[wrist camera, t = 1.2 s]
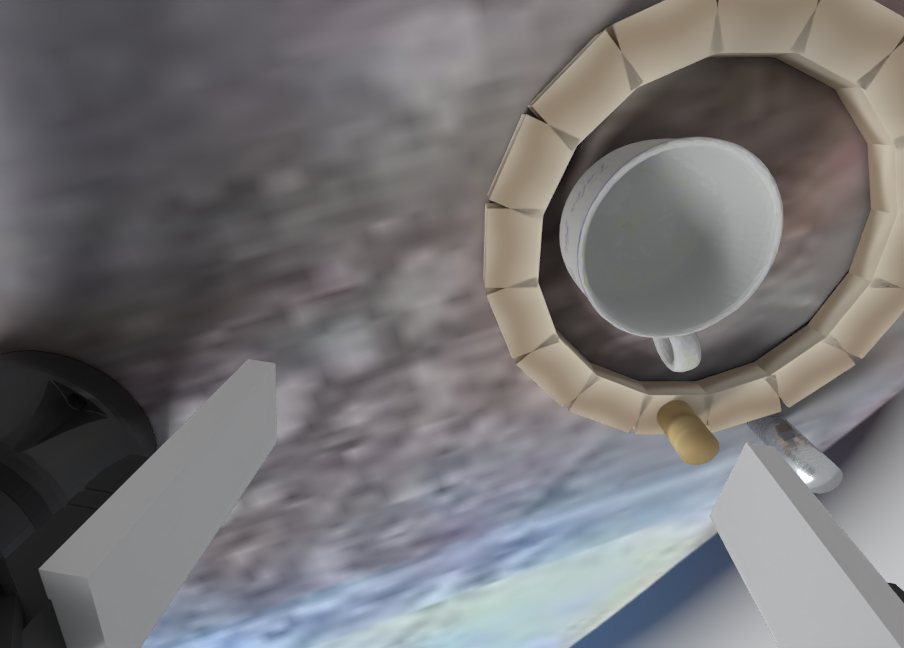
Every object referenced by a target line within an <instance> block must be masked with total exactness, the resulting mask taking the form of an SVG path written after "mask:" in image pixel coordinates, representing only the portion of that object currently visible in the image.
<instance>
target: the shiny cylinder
mask: <svg viewBox="0 0 904 648" xmlns="http://www.w3.org/2000/svg"><path fill="white" fill-rule="evenodd" d="M747 424H748V426H749V428H750V429H751V430H752V431H753V432H754V433H755V434H756V435H757V436H758V437H759V438H760V439H761V440H762V441H763V442H764V444H765V445H766V446H772V447H775V448H776V449H777V451H778V452H779V453H780V454H781V455H782V457H783V458H784V459H785V460H786V461H787V463H788V464H789V465H790V466H791V467H792V469H793V470H794V471H795V472H796V473H797V475H798V476H799V477H800V478H801V480H802V481H803V482H804V483H805V484H806V486H807V487H808V488H809V489H810V490H811V492H813V493H825V492H828V491H831V490H833V489H834V488H835V487H837V486H838V485H839V484H840V482H841V481H842V477H843V474H842V471H841V470H840V469H839V468H838V467H837V466H836V465H835V464H834V463H833V462H832V461H831V460H830V459H828V458H827V457H826V456H825V455H824V454H823V453H822V452H821V451H820V450H819V449H818V448H816V447H815V446H814V445H813V444H812V443H811V442H810V441H809V440H808V439H807V438H806V437H805V436H803V435H802V434H801V433H800V432H799V431H798V430H797V429H796V428H795V427H794V426H793V425H792V424H790V423H789V422H788V421H787V420H786V419H785V418H784V417H783V416H782V415H781V414H780V413H779V412H778V413H775V414H772V415H768V416H765V417H762V418H759V419H755V420H752V421H749V422H747Z"/></svg>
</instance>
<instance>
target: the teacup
mask: <svg viewBox="0 0 904 648" xmlns="http://www.w3.org/2000/svg"><path fill="white" fill-rule="evenodd" d="M782 231H783V204H782V199H781V196H780V192H779V189H778V186H777V184H776V181H775V179H774V178H773V176H772V175H771V173H770V172H769V170H768V168H767V167H766V166H765V165H764V163H763V162H762V161H761V160H760V159H759V158H758V157H756V156H755V155H754V154H753V153H752V152H750V151H749V150H747V149H746V148H744V147H742V146H740V145H738V144H735V143H733V142H730V141H726V140H723V139H719V138H709V137H700V136H697V137H684V138H678V139H653V140H645V141H640V142H636V143H632V144H629V145H626V146H623V147H621V148H618V149H616V150H614V151H612V152H610V153H608V154H607V155H605V156H604V157H602V158H601V159H599V160H598V161H597V162H596V163H594V164H593V165H592V166H591V167H590V168H589V169H588V170H587V171H586V172H585V173H584V174H583V175H582V176H581V177H580V179H579V180H578V182H577V183H576V184H575V186H574V187H573V189H572V191H571V193H570V195H569V196H568V198H567V201H566V203H565V206H564V209H563V213H562V217H561V222H560V235H559V238H560V248H561V253H562V257H563V260H564V263H565V265H566V268H567V270H568V272H569V274H570V275H571V277H572V279H573V280H574V282H575V283H576V284H577V286H578V287H579V288H580V289H581V291H582V292H583V293H584V294H585V296H586V297H587V298H588V300H589V301H590V303H591V305H592V306H593V307H594V309H595V310H596V311H597V313H598V314H599V315H600V316H602V317H603V318H604V319H605V320H607V321H608V322H609V323H611V324H612V325H613V326H615V327H617V328H618V329H620V330H622V331H625V332H627V333H631V334H633V335H636V336H642V337H651V338H653V340H654V343H655V346H656V349H657V351H658V353H659V355H660V357H661V359H662V361H663V362H664V363H665V365H666V366H667V367H668V368H669V369H671V370H672V371H674V372H685V371H688V370H692V369H694V368H696V367H697V366H698V365H699V363H700V361H701V348H700V343H699V339H698V337H697V334H696V332H697V331H700V330H703V329H705V328H707V327H709V326H711V325H713V324H715V323H717V322H718V321H720V320H721V319H723V318H725V317H727V316H728V315H730V314H731V313H733V312H734V311H736V310H737V309H738V308H739V307H740V306H742V305H743V304H744V303H745V302H746V301H747V300H748V299H749V298H750V297H751V295H752V294H753V293H754V292H755V291H756V290H757V288H758V287H759V286H760V284H761V283H762V281H763V280H764V278H765V277H766V275H767V274H768V272H769V270H770V268H771V266H772V264H773V262H774V259H775V257H776V254H777V251H778V247H779V244H780V241H781V238H782Z"/></svg>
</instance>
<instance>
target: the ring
mask: <svg viewBox="0 0 904 648" xmlns="http://www.w3.org/2000/svg"><path fill="white" fill-rule="evenodd" d="M706 57H775V58H777V59H779V60H781V61H783V62H785V63H787V64H788V65H790V66H792V67H794V68H796V69H798V70H800V71H802V72H803V73H805V74H807V75H809V76H811V77H813V78H815V79H817V80H819V81H820V82H822V83H824V84H826V85H828V86H830V87H832V88H834V89H835V91H836V93H837V94H838V96H839V97H840V99H841V101H842V102H843V104H844V106H845V107H846V109H847V111H848V112H849V114H850V116H851V117H852V119H853V121H854V122H855V124H856V125H857V127H858V129H859V130H860V132H861V134H862V135H863V137H864V139H865V140H866V142H867V144H868V162H869V180H870V198H871V211H870V214H869V216H868V219H867V222H866V225H865V228H864V230H863V233H862V236H861V239H860V242H859V244H858V247H857V250H856V253H855V256H854V259H853V261H852V264H851V267H850V270H849V273H848V274H847V275H846V276H845V278H844V279H843V280H842V281H841V283H840V284H839V285H838V286H837V288H836V289H835V290H834V292H833V293H832V294H831V295H830V297H829V298H828V299H827V300H826V302H825V303H824V304H823V305H822V307H821V308H820V309H819V311H818V312H817V313H816V314H815V316H814V317H813V318H812V319H811V321H810V322H809V323H808V324H807V326H805V327H804V328H802V329H801V330H799V331H798V332H797V333H795V334H794V335H792V336H791V337H789V338H788V339H787V340H785V341H784V342H782V343H781V344H779V345H778V346H777V347H775V348H774V349H772V350H771V351H769V352H768V353H766V354H765V355H764V356H762V357H761V358H759V359H758V360H756V361H755V362H753V363H750V364H747V365H744V366H741V367H738V368H735V369H732V370H729V371H726V372H723V373H720V374H717V375H714V376H710V377H707V378H704V379H701V380H698V381H637V380H635V379H632V378H629V377H627V376H624V375H622V374H619V373H616V372H614V371H611V370H609V369H606V368H603V367H601V366H598V365H596V364H593V363H590V362H589V361H588V360H587V359H586V358H585V357H584V356H583V355H582V354H581V353H580V352H579V351H578V350H577V349H576V348H575V347H574V346H573V345H572V344H571V343H570V342H569V341H568V340H567V339H566V338H565V337H564V336H563V335H562V334H561V333H560V332H559V331H558V330H557V329H556V328H555V327H554V325H553V322H552V319H551V316H550V314H549V311H548V308H547V305H546V303H545V300H544V297H543V294H542V291H541V289H540V286H539V283H538V276H539V263H540V250H541V237H542V223H543V214H544V212H545V210H546V208H547V206H548V204H549V202H550V200H551V198H552V196H553V194H554V192H555V190H556V188H557V186H558V184H559V182H560V180H561V178H562V176H563V173H564V171H565V169H566V167H567V165H568V163H569V161H570V159H571V157H572V155H573V153H574V151H575V149H576V147H577V145H578V144H579V143H581V142H582V141H583V140H584V139H585V138H586V137H587V136H588V135H589V134H590V133H591V132H592V131H593V130H594V129H595V128H596V127H597V126H598V125H599V124H600V123H601V122H602V121H603V120H604V119H605V118H606V117H607V116H609V115H610V114H611V113H612V112H613V111H614V110H615V109H616V108H617V107H618V106H619V105H620V104H621V103H622V102H623V101H624V100H625V99H626V98H627V97H628V96H629V95H630V94H631V93H632V92H633V91H634V90H635V89H636V88H638V87H640V86H642V85H644V84H647V83H649V82H651V81H654V80H656V79H658V78H661V77H663V76H665V75H667V74H670V73H672V72H674V71H677V70H679V69H681V68H684V67H686V66H688V65H690V64H693V63H695V62H697V61H700V60H702V59H704V58H706ZM528 107H529V108H530V110H531V111H532V112H533V113H534V114H535V116H536V117H537V118H538V119H539V120H537V119H535V118H533V117H531V116H529V115H527V114H522V115H521V118H520V120H519V122H518V125H517V127H516V129H515V131H514V134H513V136H512V138H511V141H510V143H509V145H508V148H507V150H506V152H505V155H504V157H503V159H502V162H501V164H500V166H499V169H498V171H497V173H496V175H495V178H494V180H493V182H492V185H491V187H490V189H489V192H488V194H487V195H488V198H489V200H491V201H494V202H496V203H485V235H484V273H483V279H484V285H485V290H486V296H487V298H488V300H489V303H490V305H491V308H492V310H493V313H494V315H495V317H496V320H497V322H498V325H499V327H500V330H501V332H502V334H503V337H504V339H505V342H506V344H507V347H508V349H509V351H510V354H511V356H512V359H513V358H515V361H516V364H517V365H518V366H519V367H520V368H521V369H522V370H523V371H524V372H525V373H526V374H527V375H528V376H529V377H531V378H532V379H533V380H534V381H535V382H536V383H537V384H538V385H539V386H540V387H541V388H542V389H543V390H545V391H546V392H547V393H548V394H549V395H550V396H551V397H552V398H553V399H554V400H555V401H556V402H557V403H559V404H560V405H561V406H562V407H565V406H566V405H567V408H568V410H569V411H570V412H573V413H575V414H578V415H581V416H584V417H586V418H589V419H592V420H595V421H597V422H600V423H603V424H606V425H609V426H611V427H614V428H617V429H620V430H622V431H625V432H628V433H629V432H630V431H631V429H632V428H633V430H634V432H635V433H636V434H666V436H667V437H668V439H669V440H670V442H671V443H672V445H673V446H674V448H675V449H676V451H677V453H678V454H679V456H680V457H681V459H682V460H683V461H684V462H686V463H688V464H691V465H700V464H704V463H706V462H708V461H710V460H712V459H713V458H714V457H715V456H716V454H717V453H718V450H719V442H718V440H717V439H716V438H715V437H714V435H713V434H712V433H713V432H716V431H720V430H723V429H726V428H729V427H733V426H736V425H739V424H742V423H746V422H749V421H752V420H755V419H759V418H762V417H765V416H768V415H772V414H775V413H778V412H781V405H780V400H781V401H782V402H783V403H784V404H785V405H786V406H787V407H788V408H790V407H791V406H793V405H794V404H796V403H797V402H799V401H801V400H802V399H804V398H805V397H807V396H808V395H810V394H811V393H813V392H814V391H816V390H817V389H819V388H821V387H822V386H824V385H825V384H827V383H828V382H830V381H831V380H833V379H834V378H836V377H837V376H839V375H841V374H842V373H844V372H845V371H847V370H848V369H850V368H851V367H853V366H854V365H855V363H854V362H853V361H852V359H851V358H850V357H849V355H848V354H847V353H849V354H852V355H854V356H857V357H859V358H861V359H863V357H864V356H865V355H866V354H867V353H868V352H869V351H870V349H871V348H872V347H873V346H874V345H875V344H876V343H877V341H878V340H879V339H880V338H881V337H882V336H883V335H884V333H885V332H886V331H887V330H888V329H889V328H890V326H891V325H892V324H893V323H894V322H895V321H896V320H897V318H898V317H899V316H900V315H901V314H902V313H903V312H904V289H903V288H904V17H902V16H900V15H899V14H897V13H895V12H893V11H892V10H890V9H888V8H887V7H885V6H883V5H881V4H880V3H878V2H876V1H874V0H664V1H662V2H660V3H658V4H656V5H654V6H651V7H649V8H647V9H645V10H643V11H641V12H638V13H636V14H634V15H632V16H630V17H628V18H625V19H623V20H621V21H619V22H617V23H615V24H613V25H611V26H609V27H607V28H606V29H604V31H603V32H601V33H599V34H597V35H595V36H594V37H593V38H592V39H591V40H590V42H589V43H588V44H587V45H586V46H585V47H584V48H583V49H582V50H581V51H580V52H579V53H578V54H577V55H576V56H575V57H574V58H573V59H572V60H571V61H570V62H569V63H568V64H567V65H566V66H565V67H564V68H563V70H562V71H561V72H560V73H559V74H558V75H557V76H556V77H555V78H554V79H553V80H552V81H551V82H550V83H549V84H548V85H547V86H546V87H545V88H544V89H543V90H542V91H541V92H540V93H539V94H538V95H537V96H536V98H535V99H534V100H533V101H532V102H531V103H530V104H529V105H528ZM846 352H847V353H846Z"/></svg>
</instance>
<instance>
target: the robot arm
mask: <svg viewBox="0 0 904 648" xmlns="http://www.w3.org/2000/svg"><path fill="white" fill-rule="evenodd" d="M276 443H277V423H276V376H275V363H269V362H263V361H257V360H251V359H248V360H247V361H246V362H245V363H244V364H243V365H242V366H241V367H240V368H239V369H238V370H237V371H236V372H235V373H234V374H233V375H232V376H231V377H230V378H229V379H228V380H227V381H226V382H225V383H224V384H223V385H222V386H221V387H220V388H219V389H218V390H217V391H216V392H215V393H214V394H213V395H212V396H211V397H210V398H209V399H208V400H207V401H206V402H205V403H204V404H203V405H202V406H201V407H200V408H199V409H198V410H197V411H196V412H195V413H194V414H193V415H192V416H191V417H190V418H189V419H188V420H187V421H186V422H185V423H184V424H183V425H182V426H181V427H180V428H179V429H178V430H177V431H176V432H175V433H174V434H173V435H172V436H171V437H170V438H169V439H168V440H167V441H166V442H165V443H164V444H163V445H162V446H161V447H160V448H159V449H158V450H157V451H156V446H155V439H154V435H153V432H152V429H151V426H150V424H149V422H148V420H147V418H146V416H145V415H144V413H143V411H142V410H141V408H140V407H139V406H138V404H137V403H136V402H135V401H134V400H133V398H132V397H131V396H130V395H129V394H128V393H127V392H126V391H125V390H124V389H123V388H121V387H120V386H119V385H118V384H117V383H115V382H114V381H113V380H111V379H110V378H108V377H107V376H106V375H104V374H102V373H101V372H99V371H97V370H96V369H94V368H92V367H90V366H88V365H86V364H84V363H81V362H79V361H76V360H74V359H71V358H68V357H65V356H61V355H57V354H52V353H47V352H38V351H18V352H11V353H6V354H2V355H0V648H141V646H142V645H143V643H144V642H145V640H146V639H147V637H148V636H149V634H150V633H151V631H152V630H153V628H154V627H155V625H156V624H157V622H158V621H159V619H160V618H161V616H162V615H163V613H164V612H165V610H166V609H167V607H168V606H169V604H170V603H171V601H172V600H173V598H174V597H175V595H176V594H177V592H178V590H179V589H180V587H181V586H182V584H183V583H184V581H185V580H186V578H187V577H188V575H189V574H190V572H191V571H192V569H193V568H194V566H195V565H196V563H197V562H198V560H199V559H200V557H201V556H202V554H203V553H204V551H205V550H206V548H207V547H208V545H209V544H210V542H211V541H212V539H213V538H214V536H215V535H216V533H217V532H218V530H219V529H220V527H221V526H222V524H223V523H224V521H225V520H226V518H227V517H228V515H229V514H230V512H231V511H232V509H233V508H234V506H235V505H236V503H237V501H238V500H239V498H240V497H241V495H242V494H243V492H244V491H245V489H246V488H247V486H248V485H249V483H250V482H251V480H252V479H253V477H254V476H255V474H256V473H257V471H258V470H259V468H260V467H261V465H262V464H263V462H264V461H265V459H266V458H267V456H268V455H269V453H270V452H271V450H272V449H273V447H274V446H275V444H276ZM709 516H710V518H711V520H712V522H713V524H714V526H715V527H716V529H717V531H718V533H719V535H720V537H721V539H722V541H723V543H724V544H725V547H726V548H727V550H728V552H729V554H730V556H731V558H732V560H733V562H734V563H735V566H736V567H737V569H738V571H739V573H740V575H741V577H742V579H743V581H744V583H745V585H746V586H747V588H748V590H749V592H750V594H751V596H752V598H753V600H754V602H755V603H756V606H757V607H758V609H759V611H760V613H761V615H762V617H763V619H764V621H765V623H766V625H767V626H768V628H769V630H770V632H771V634H772V636H773V638H774V640H775V642H776V644H777V646H778V647H779V648H904V591H903V590H901V589H900V588H899V587H898V586H897V585H896V584H892V583H887V582H886V581H885V580H884V579H883V577H882V576H881V575H880V574H879V573H878V572H877V570H876V569H875V568H874V567H873V565H872V564H871V563H870V562H869V561H868V559H867V558H866V557H865V556H864V555H863V553H862V552H861V551H860V550H859V548H858V547H857V546H856V545H855V544H854V542H853V541H852V540H851V539H850V538H849V536H848V535H847V534H846V533H845V532H844V530H843V529H842V528H841V527H840V526H839V524H838V523H837V522H836V521H835V520H834V518H833V517H832V516H831V515H830V513H829V512H828V511H827V510H826V509H825V507H824V506H823V505H822V504H821V503H820V501H818V499H817V498H816V497H815V495H814V494H813V493H812V492H811V490H810V489H809V488H808V487H807V486H806V484H805V483H804V482H803V481H802V480H801V478H800V477H799V476H798V475H797V473H796V472H795V471H794V470H793V469H792V467H791V466H790V465H789V464H788V463H787V461H786V460H785V459H784V458H783V457H782V455H781V454H780V453H779V452H778V451H777V449H776V448H775V447H772V446H766V445H760V444H754V443H748V442H746V444H745V446H744V448H743V450H742V452H741V454H740V456H739V458H738V460H737V462H736V464H735V466H734V468H733V470H732V472H731V474H730V476H729V478H728V480H727V482H726V484H725V486H724V487H723V489H722V491H721V493H720V495H719V497H718V499H717V501H716V503H715V505H714V507H713V509H712V511H711V513H710V515H709Z"/></svg>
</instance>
